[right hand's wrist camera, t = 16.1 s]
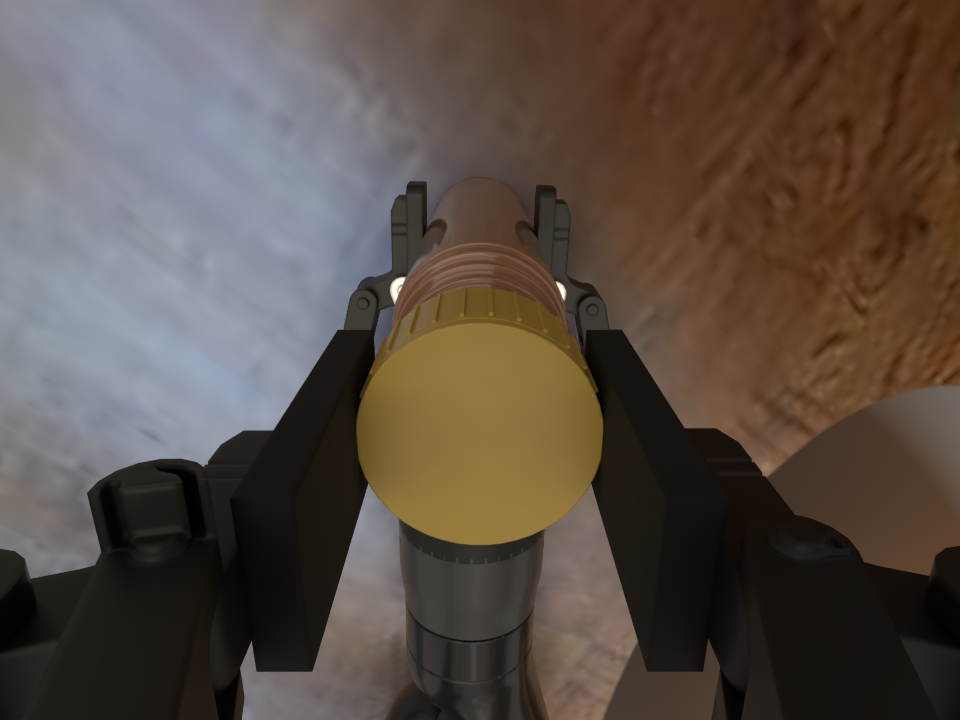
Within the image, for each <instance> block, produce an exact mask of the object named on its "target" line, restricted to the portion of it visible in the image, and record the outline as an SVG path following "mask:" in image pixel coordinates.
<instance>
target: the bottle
mask: <svg viewBox="0 0 960 720" xmlns="http://www.w3.org/2000/svg"><path fill="white" fill-rule="evenodd" d="M462 287H466V289H467V288H488V287H492V289H500V290H505V291H509V292H512V293H513V291H515V292H517V294H518V295H521V296H523V297H526V298H528V299H530V300H532V301H534V302H535V303H536V301H538V302H539V303H540V305H541V306H542V307H544V308H545V309H546V310H547V311H549V312H550V313H551V314H553V315H554V316H555V317H556V316H558V317H559V318H560V321H561V323H562V324H563V326H564V327H565V328H566V330H567V331H568V322H567V312H566V307H565V303H564V300H563V298H562V295H561V292H560V290H559V288H558V285H557V283H556V281H555V279H554V276H553V274H552V272H551V269H550V267H549V265H548V263H547V260H546V258H545V256H544V253H543V251H542V249H541V247H540V244H539V242H538V240H537V238H536V235H535V233H534V231H533V228H532V226H531V224H530V222H529V219H528V217H527V215H526V213H525V210H524V208H523V206H522V204H521V202H520V200H519V198H518V197H517V196H516V194H515V193H514V192H513V191H512V190H511V189H510V188H508V187H507V186H506V185H504V184H503V183H501V182H499V181H496V180H493V179H490V178H470V179H467V180H464V181H461V182H459V183H457V184H456V185H454V186H453V187H451V188H450V189H449V190H448V191H447V192H446V193H445V194H444V195H443V197H442V198H441V200H440V202H439V203H438V205H437V208H436V210H435V212H434V215H433V217H432V219H431V221H430V224H429V226H428V228H427V230H426V233H425V235H424V237H423V239H422V242H421V244H420V246H419V249H418V251H417V253H416V255H415V258H414V260H413V262H412V264H411V267H410V269H409V271H408V273H407V276H406V278H405V280H404V283H403V285H402V287H401V289H400V292H399V294H398V297H397V299H396V302H395V306H394V311H393V318H392V331H393V329H394V327H395V324H396V322H397V321H398V320H402V319H403V318H404V317H405V316H406V315H407V314H408V313H409V312H411V311H412V310H413V309H414V308H415V305H417V304H419V305H421V304H422V303H424V302H426V301H428V300H429V299H431V298H434V297H436V296H437V294H439V293H441V294H444V293H447V292H451V291H455V290H459V289H462ZM392 331H391V332H392Z"/></svg>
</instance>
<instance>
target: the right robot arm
mask: <svg viewBox="0 0 960 720" xmlns="http://www.w3.org/2000/svg"><path fill="white" fill-rule="evenodd" d="M374 360H375V349H374V332H373V330H337V332H336V334H335V335H334V337H333V338H332V340H331V341H330V343H329V345H328V346H327V348H326V349H325V351H324V352H323V354H322V355H321V357H320V359H319V360H318V362H317V363H316V365H315V366H314V368H313V370H312V371H311V373H310V374H309V376H308V377H307V379H306V380H305V382H304V384H303V385H302V387H301V388H300V390H299V391H298V393H297V395H296V396H295V398H294V399H293V401H292V402H291V404H290V405H289V407H288V409H287V410H286V412H285V413H284V415H283V416H282V418H281V420H280V421H279V423H278V424H277V426H276V427H275V429H274V430H273V431H242V432H241V433H239V434H237V435H236V436H234V437H233V438H231V439H229V440H228V441H226V442H225V443H223V444H221V445H220V447H219V448H218V449H217V451H216V452H215V453H214V454H213V456H212V457H211V458H210V460H209V461H208V465H205V466H204V467H203V466H201V465H200V464H199V463H197V462H193V461H189V460H184V459H158V460H153V461H148V462H142V463H137V464H135V465H132V466H129V467H126V468H123V469H120V470H118V471H115V472H114V473H112V474H110V475H108V476H107V477H105V478H103V479H101V480H100V481H98V482H97V483H96V484H95V485H94V486H93V487H92V488H91V489H90V490H89V492H88V493H87V495H88V499H89V503H90V507H91V511H92V515H93V519H94V524H95V528H96V532H97V536H98V540H99V544H100V548H101V554H100V556H99V559H98V561H97V563H96V565H95V566H91V567H87V568H83V569H79V570H74V571H69V572H64V573H59V574H53V575H48V576H43V577H38V578H33V579H30V575H29V572H28V568H27V565H26V562H25V559H24V558H23V557H22V556H20V555H19V554H18V553H16V552H15V551H10V550H3V549H0V720H242V713H243V705H244V690H243V683H242V677H241V671H240V667H241V664H242V662H243V660H244V657H245V655H246V653H247V650H248V648H249V646H250V643H251V641H252V645H253V652H254V658H255V664H256V671H257V672H312V671H313V668H314V664H315V661H316V658H317V654H318V651H319V648H320V644H321V641H322V637H323V634H324V631H325V627H326V624H327V621H328V617H329V614H330V610H331V607H332V604H333V600H334V597H335V594H336V590H337V587H338V584H339V580H340V577H341V573H342V570H343V567H344V563H345V560H346V557H347V553H348V550H349V546H350V543H351V540H352V536H353V533H354V530H355V526H356V523H357V520H358V516H359V513H360V509H361V506H362V503H363V499H364V496H365V493H366V489H367V486H368V481H367V479H366V477H365V476H364V473H363V470H362V468H361V465H360V462H359V457H358V445H357V431H356V418H357V414H358V409H359V405H360V402H361V399H362V398H359V397H360V394H361V391H362V389H363V386H364V384H365V382H366V379H367V377H368V375H369V372H370V370H371V367H372V365H373V363H374ZM585 360H586V362H587V365H588V367H589V370H590V372H591V374H592V377H593V379H594V381H595V384H596V386H597V389H598V393H596V395H597V398H598V400H599V403H600V406H601V411H602V415H603V439H602V452H601V461H600V464H599V467H598V469H597V472H596V474H595V477H594V479H593V480H592V482H591V484H592V487H593V491H594V494H595V497H596V501H597V504H598V507H599V511H600V514H601V518H602V521H603V524H604V528H605V531H606V534H607V538H608V541H609V545H610V548H611V551H612V555H613V558H614V561H615V565H616V568H617V572H618V575H619V578H620V582H621V585H622V588H623V592H624V595H625V598H626V602H627V605H628V609H629V612H630V615H631V619H632V622H633V625H634V629H635V632H636V636H637V639H638V642H639V646H640V649H641V652H642V655H643V659H644V663H645V666H646V669H647V671H648V672H703V668H704V661H705V655H706V649H707V642H708V639H709V641H710V643H711V645H712V648H713V650H714V652H715V655H716V657H717V660H718V662H719V664H720V671H719V677H718V683H717V689H716V695H715V701H714V707H713V713H712V719H711V720H960V546H957V547H950V548H945V549H944V550H943V551H941V552H940V553H939V554H937V555H936V556H935V560H934V563H933V567H932V570H931V573H930V576H927V575H921V574H916V573H911V572H906V571H901V570H896V569H891V568H886V567H881V566H877V565H873V564H869V563H865V562H863V559H862V557H861V555H860V553H859V551H858V550H857V549H856V548H855V546H854V545H853V544H852V543H851V541H850V540H849V539H848V538H847V537H845V536H844V535H842V534H841V533H839V532H838V531H836V530H835V529H834V528H832V527H830V526H828V525H825V524H823V523H821V522H818V521H816V520H813V519H811V518H807V517H802V516H797V515H795V514H794V513H793V512H792V510H791V509H790V508H789V507H788V505H787V504H786V503H785V501H784V500H783V499H782V497H781V496H780V495H779V494H778V492H777V491H776V490H775V488H774V487H773V486H772V485H771V483H770V482H769V481H768V479H767V478H766V477H765V476H762V472H761V470H760V469H759V468H758V467H757V465H756V464H755V463H754V462H752V459H751V457H750V456H749V455H748V454H747V452H746V451H745V450H744V448H743V447H742V446H741V445H740V443H739V442H737V441H736V440H734V439H732V438H731V437H729V436H728V435H726V434H724V433H723V432H721V431H719V430H718V429H716V428H684V427H683V425H682V423H681V422H680V420H679V419H678V417H677V416H676V414H675V412H674V411H673V409H672V408H671V406H670V405H669V403H668V402H667V400H666V398H665V397H664V395H663V394H662V392H661V391H660V389H659V387H658V386H657V384H656V383H655V381H654V380H653V378H652V377H651V375H650V373H649V372H648V370H647V369H646V367H645V366H644V364H643V362H642V361H641V359H640V358H639V356H638V355H637V353H636V352H635V350H634V348H633V347H632V345H631V344H630V342H629V341H628V339H627V337H626V336H625V334H624V333H623V331H622V330H586V342H585Z"/></svg>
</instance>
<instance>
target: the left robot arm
mask: <svg viewBox="0 0 960 720" xmlns="http://www.w3.org/2000/svg"><path fill="white" fill-rule="evenodd" d="M570 218H571V216H570V213H569V209H568V206H567V204H566V203H565V201H564V200H558V199H556V189H555V187H554V186H552V185H537V186H536V196H535V214H534V233H535V235H536V238H537V240H538V242H539V244H540V247H541V249H542V251H543V253H544V256H545V258H546V260H547V263H548V265H549V267H550V269H551V272H552V274H553V276H554V279H555V281H556V283H557V285H558V288H559V290H560V292H561V295H562V298H563V300H564V303H565V307H566V312H569V313H571V314H574V315H575V320H576V326H577V331H578V337H579V343H580V349H581V354H582V355H584V358H585V342H586V330H609V324H608V317H607V311H606V305H605V303H604V301H603V300H602V298H601V297H600V295H599V294H598V292H597V290H596V289H595V287H594V286H593V285H591V284H589V283H581V282H579V281H576V280H573V279H571V278H570V277H568V276H567V258H568V244H569V229H570ZM426 230H427V184H426V182H421V181H410V182H409V183H408V184H407V190H406V195H399V196H398V197H397V198H396V199H395V201H394V204H393V207H392V209H391V233H392V270H391V271H390V272H388V273H386V274H384V275H381V276H378V277H367V278H365V279H363V280H362V281H361V283H360V284H359V286H358V288H357V290H356V291H354V293H353V294H352V296H351V297H350V301H349V306H348V310H347V315H346V320H345V325H344V329H343V330H373V332H374V335H375V330H376V326H377V322H378V317H379V313H380V310H382V309H385V308H388V307H391V306H394V305H395V302H396V299H397V297H398V294H399V292H400V289H401V287H402V285H403V283H404V280H405V278H406V276H407V273H408V271H409V269H410V267H411V264H412V262H413V260H414V258H415V255H416V253H417V251H418V249H419V246H420V244H421V242H422V239H423V237H424V235H425V233H426ZM399 531H400V563H401V572H402V578H403V583H404V588H405V596H406V649H407V659H408V665H409V671H410V674H411V677H412V678H413V681H411V682H410V683H408V684H407V685H406V686H405V687H404V688H403V689H402V690H401V691H400V692H399V693H398V695H397V696H396V698H395V699H394V701H393V702H392V704H391V706H390V708H389V710H388V713H387V716H386V718H385V720H549V717H548V713H547V710H546V706H545V703H544V699H543V696H542V692H541V688H540V685H539V681H538V677H537V673H536V668H535V664H534V661H533V657H532V653H531V648H532V631H533V616H534V603H535V595H536V591H537V586H538V583H539V579H540V574H541V568H542V559H543V546H544V532H545V529H543V530H541V531H539V532H537V533H535V534H533V535H530V536H527V537H524V538H522V539H519V540H515V541H510V542H506V543H501V544H491V545H468V544H459V543H454V542H449V541H445V540H441V539H438V538H435V537H432V536H429V535H427V534H425V533H423V532H421V531H419V530H416V529H414V528H413V527H411V526H410V525H408V524H406V523H405V522H403V521H402V520H400V519H399Z"/></svg>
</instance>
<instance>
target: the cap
mask: <svg viewBox="0 0 960 720" xmlns="http://www.w3.org/2000/svg"><path fill="white" fill-rule="evenodd" d="M596 393H598V389H597V386H596V384H595V381H594V379H593V377H592V374H591V372H590V370H589V367H588V365H587V362H586V360H585V358H584V355H582V354H581V351H580V349H579V346H578V344H577V342H576V339H575V337H574V335H573V334H571V335H570V334H569V332H568V331H567V330H566V328H565V327H564V326H563V324H562V323H561V321H560V318H559V317H558V316H556V317H555V316H554V315H553V314H551V313H550V312H549V311H547V310H546V309H545V308H544V307H542V306H541V305H540V303H539V302H538V301H536V303H535V302H534V301H532V300H530V299H528V298H526V297H523V296H521V295H518V294H517V292H515V291H513V293H512V292H509V291H505V290H500V289H492V287H488V288H467V289H466V287H462V289H459V290H455V291H451V292H447V293H444V294H441V293H439V294H437V296H436V297H434V298H431V299H429V300H428V301H426V302H424V303H422V304H421V305H419V304H417V305H415V308H414V309H413V310H412V311H411V312H409V313H408V314H407V315H406V316H405V317H404V318H403V319H402V320H398V321H397V322H396V324H395V327H394V329H393V331H392V332H391V333H390V335H389V336H388V338H387V339H385V338H384V339H383V341H382V344H381V346H380V348H379V351H378V353H377V355H376V358H375V360H374V363H373V365H372V367H371V370H370V372H369V375H368V377H367V379H366V382H365V384H364V386H363V389H362V391H361V394H360V397H359V398H362V399H361V402H360V405H359V409H358V414H357V418H356V431H357V445H358V457H359V462H360V465H361V468H362V470H363V473H364V476H365V477H366V479H367V481H368V483H369V485H370V487H371V489H372V490H373V491H374V493H375V494H376V495H377V497H378V498H379V500H380V501H381V502H382V503H383V504H384V505H385V506H386V507H387V508H388V509H389V510H390V511H391V512H392V513H393V514H394V515H396V516H397V517H398V518H399V519H400V520H402V521H403V522H405V523H406V524H408V525H410V526H411V527H413V528H414V529H416V530H419V531H421V532H423V533H425V534H427V535H429V536H432V537H435V538H438V539H441V540H445V541H449V542H454V543H459V544H468V545H491V544H501V543H506V542H510V541H515V540H519V539H522V538H524V537H527V536H530V535H533V534H535V533H537V532H539V531H541V530H543V529H545V528H547V527H548V526H550V525H552V524H553V523H555V522H556V521H558V520H559V519H560V518H562V517H563V516H564V515H565V514H566V513H568V512H569V511H570V510H571V509H572V508H573V507H574V506H575V505H576V504H577V503H578V502H579V500H580V499H581V498H582V496H583V495H584V494H585V492H586V491H587V489H588V488H589V486H590V484H591V482H592V480H593V479H594V477H595V474H596V472H597V469H598V467H599V464H600V461H601V452H602V439H603V415H602V411H601V406H600V403H599V400H598V398H597V395H596Z"/></svg>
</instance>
